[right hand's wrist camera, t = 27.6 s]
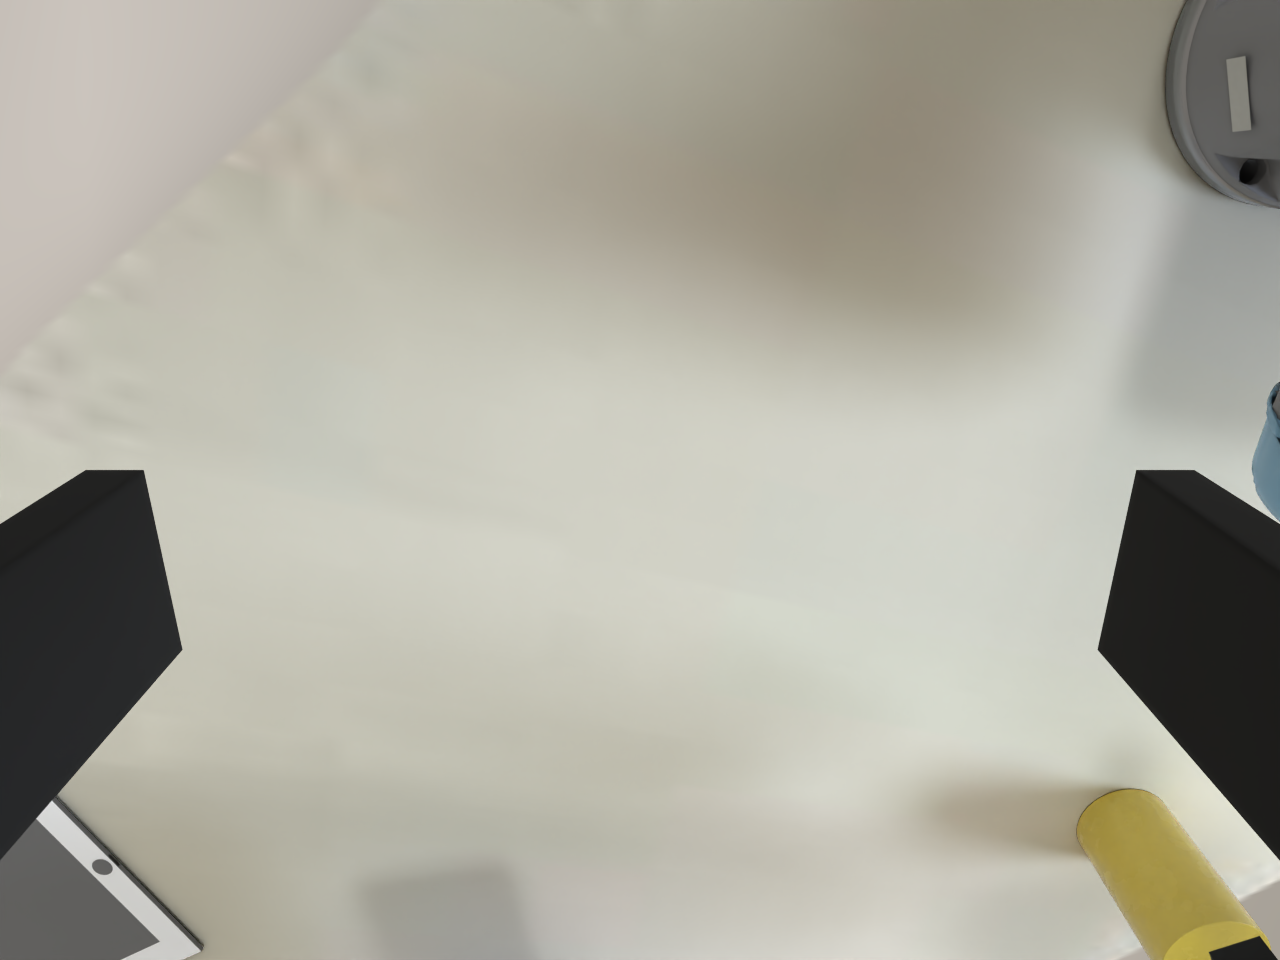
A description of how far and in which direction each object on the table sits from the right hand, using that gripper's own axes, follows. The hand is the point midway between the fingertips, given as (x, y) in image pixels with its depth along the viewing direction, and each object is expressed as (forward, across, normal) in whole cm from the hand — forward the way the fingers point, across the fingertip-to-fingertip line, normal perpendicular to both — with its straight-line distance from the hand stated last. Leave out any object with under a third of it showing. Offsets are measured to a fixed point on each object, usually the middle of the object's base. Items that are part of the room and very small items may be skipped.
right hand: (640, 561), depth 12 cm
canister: (+41, +35, -42) cm, 68 cm away
